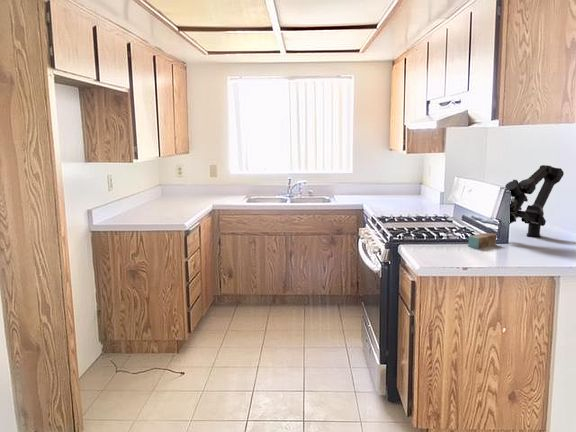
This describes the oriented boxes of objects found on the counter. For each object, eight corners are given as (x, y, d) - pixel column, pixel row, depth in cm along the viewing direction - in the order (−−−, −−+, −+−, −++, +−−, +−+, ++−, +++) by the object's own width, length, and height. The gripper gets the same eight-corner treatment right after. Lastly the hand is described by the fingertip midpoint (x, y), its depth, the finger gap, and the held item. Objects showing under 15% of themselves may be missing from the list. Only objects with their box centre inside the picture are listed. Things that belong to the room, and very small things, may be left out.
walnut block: (487, 232, 244) (468, 236, 236) (496, 234, 239) (477, 238, 232) (486, 242, 244) (468, 246, 237) (495, 244, 240) (477, 248, 233)
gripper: (493, 190, 252) (477, 214, 248) (527, 194, 236) (512, 220, 233) (501, 204, 257) (486, 227, 254) (536, 209, 242) (520, 234, 238)
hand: (500, 227), depth 245 cm, fingers closed
